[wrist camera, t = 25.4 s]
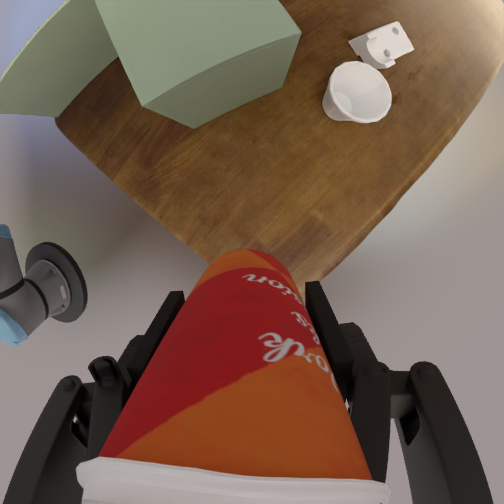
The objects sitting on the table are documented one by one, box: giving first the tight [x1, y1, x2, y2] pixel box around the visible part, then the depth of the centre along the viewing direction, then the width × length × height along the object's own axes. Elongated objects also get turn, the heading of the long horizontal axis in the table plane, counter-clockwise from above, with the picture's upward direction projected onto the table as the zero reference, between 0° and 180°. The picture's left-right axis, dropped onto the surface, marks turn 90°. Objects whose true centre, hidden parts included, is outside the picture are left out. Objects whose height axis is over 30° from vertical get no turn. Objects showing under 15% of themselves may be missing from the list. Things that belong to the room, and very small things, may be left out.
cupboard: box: [95, 0, 301, 129], centre depth 29 cm, size 18×26×24 cm
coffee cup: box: [76, 250, 391, 504], centre depth 10 cm, size 8×8×15 cm
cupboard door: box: [0, 0, 118, 117], centre depth 29 cm, size 7×26×24 cm, turn 123°
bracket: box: [348, 21, 414, 69], centre depth 35 cm, size 13×7×8 cm, turn 127°
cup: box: [322, 61, 391, 123], centre depth 37 cm, size 10×10×13 cm
